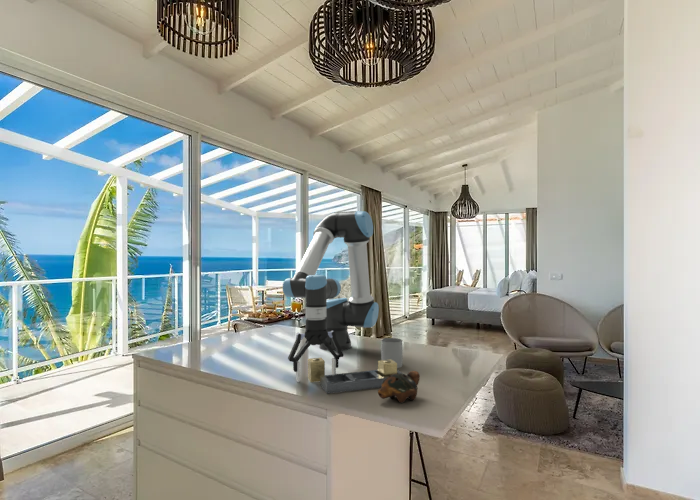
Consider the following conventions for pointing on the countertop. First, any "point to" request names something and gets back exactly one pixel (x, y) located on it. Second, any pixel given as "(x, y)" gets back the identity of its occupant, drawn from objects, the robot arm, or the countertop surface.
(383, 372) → the beige framed knobbed block
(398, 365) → the cup
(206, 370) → the countertop surface
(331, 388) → the rack
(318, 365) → the cube with silver knob
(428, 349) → the countertop surface
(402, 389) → the decorative turtle
